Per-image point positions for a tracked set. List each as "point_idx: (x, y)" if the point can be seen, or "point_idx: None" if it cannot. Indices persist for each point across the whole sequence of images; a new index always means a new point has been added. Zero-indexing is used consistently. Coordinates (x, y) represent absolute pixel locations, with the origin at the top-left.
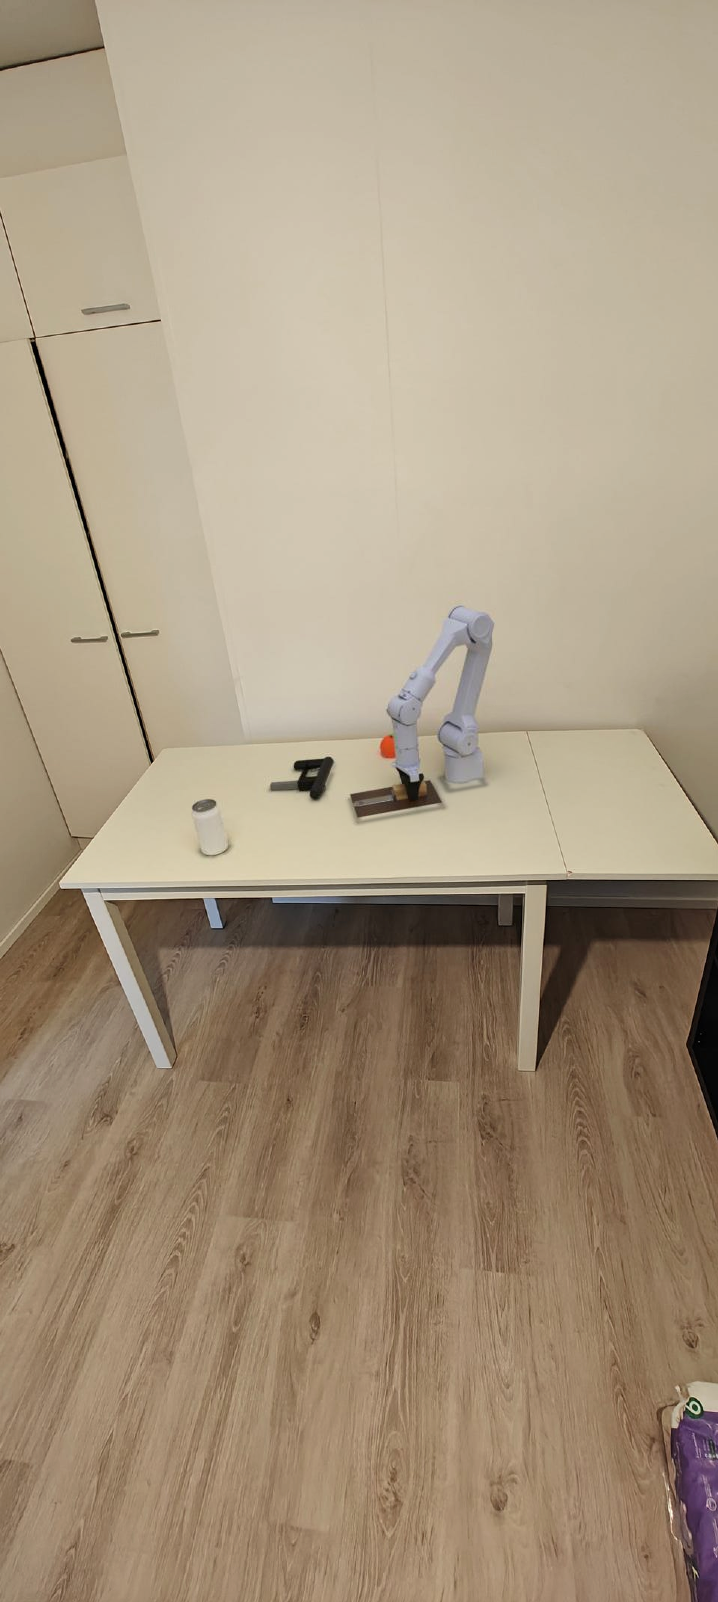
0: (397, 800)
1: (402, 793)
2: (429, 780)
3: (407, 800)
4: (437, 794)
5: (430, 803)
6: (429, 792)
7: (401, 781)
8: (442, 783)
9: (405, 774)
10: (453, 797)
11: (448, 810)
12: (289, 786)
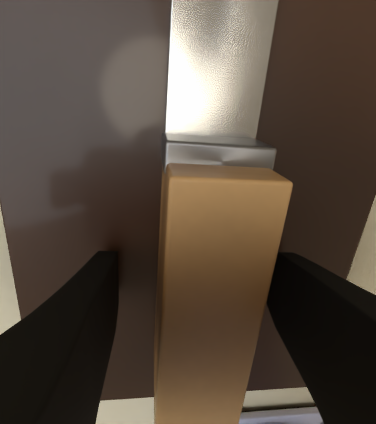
0: (161, 166)
1: (162, 234)
2: (305, 384)
3: (132, 235)
4: (138, 396)
5: None
6: None
7: (327, 281)
8: (277, 400)
9: (357, 378)
10: (134, 419)
11: None
12: None
